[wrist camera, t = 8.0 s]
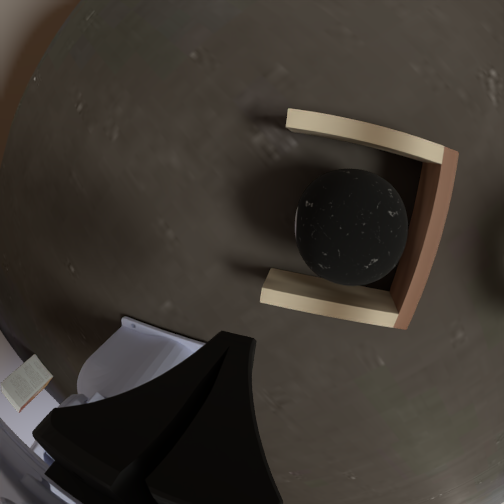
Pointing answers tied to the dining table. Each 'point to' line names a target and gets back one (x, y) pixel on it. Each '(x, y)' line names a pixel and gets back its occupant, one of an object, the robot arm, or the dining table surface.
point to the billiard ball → (351, 227)
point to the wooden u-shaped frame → (418, 239)
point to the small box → (26, 383)
